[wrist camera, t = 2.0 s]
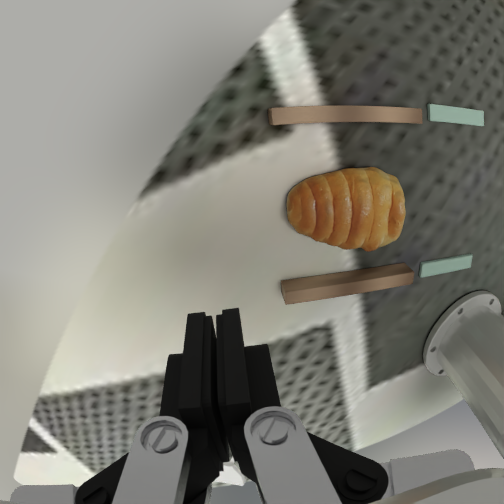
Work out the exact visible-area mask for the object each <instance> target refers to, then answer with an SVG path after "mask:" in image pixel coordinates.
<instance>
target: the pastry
mask: <svg viewBox="0 0 504 504" xmlns="http://www.w3.org/2000/svg"><path fill="white" fill-rule="evenodd" d="M404 203H405V198H404V193H403V190H402V188H401V186H400V184H399V181H398V179H397V178H396V177H395V176H393V175H390V174H387V173H385V172H383V171H382V170H380V169H378V168H375V167H367V168H347V169H342V170H338V171H334V172H330V173H325V174H321V175H317V176H313V177H310V178H307V179H305V180H303V181H302V182H300V183H299V184H297V185H295V186H294V187H293V188H292V189H291V191H290V192H289V193H288V196H287V202H286V206H287V217H288V221H289V222H290V224H291V225H292V226H293V227H294V228H295V230H296V231H297V232H298V233H300V234H303V235H306V236H309V237H311V238H312V239H314V240H315V241H319V242H324V243H327V244H329V245H332V246H338V247H340V248H342V249H355V248H362V249H364V250H365V251H373V250H375V249H377V248H378V247H382V246H385V245H387V244H389V243H391V242H392V241H395V240H397V238H398V237H399V236H400V233H401V230H402V228H403V224H404V218H405V214H406V213H405V206H404Z"/></svg>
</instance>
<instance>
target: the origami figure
mask: <svg viewBox="0 0 504 504" xmlns="http://www.w3.org/2000/svg"><path fill="white" fill-rule="evenodd" d="M234 462H235V461H234V458H233V457H232V458H231V460H230V462H223V468H224V471H220V476H219V477H218V478H216V479H215V480H214V481H217V482H223V483H229V484H235V485H241V486H243V485H244V484H245V482H246V480H247V477H246V476H244V475H243V474H241V470H240V469H239V468H238V467H236V466H235V465H234Z"/></svg>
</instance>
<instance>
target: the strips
mask: <svg viewBox="0 0 504 504" xmlns="http://www.w3.org/2000/svg"><path fill="white" fill-rule="evenodd" d="M427 109H428V121H439V122H450V123H460V124H469V125H477V126H484V113H483V111H479V110H472V109H466V108H459V107H452V106H444V105H435V104H427ZM472 256H473V255H472V254H471V253H470V254H465V255H459V256H454V257H448V258H443V259H437V260H431V261H425V262H421V263H420V271H419V277H420V278H422V277H427V276H432V275H437V274H442V273H447V272H452V271H457V270H461V269H466V268H470V267H471V261H472Z"/></svg>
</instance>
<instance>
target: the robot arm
mask: <svg viewBox="0 0 504 504" xmlns="http://www.w3.org/2000/svg"><path fill="white" fill-rule="evenodd" d="M216 336H217V339H216ZM423 360H424V363H425V366H426V367H427V369H428V370H429V371H430V372H431V373H432V374H434V375H436V376H447V375H448V377H449V378H450V380H451V381H452V382H453V384H454V385H455V387H456V388H457V389H458V391H459V392H460V394H461V395H462V397H463V398H464V399H465V401H466V402H467V404H468V405H469V407H470V408H471V410H472V411H473V413H474V414H475V416H476V417H477V419H478V420H479V422H480V423H481V425H482V426H483V428H484V429H485V431H486V433H487V434H488V436H489V437H490V439H491V440H492V442H493V443H494V445H495V447H496V448H497V450H498V451H499V453H500V454H501V456H502V457H503V459H504V316H503V315H501V304H500V302H499V300H498V299H497V297H496V296H494V295H493V294H492V293H490V292H488V291H476V292H472V293H470V294H468V295H466V296H464V297H462V298H461V299H459V300H458V301H457V302H455V303H454V304H453V305H452V306H451V307H450V308H448V310H447V311H446V312H445V313H444V314H443V315H442V316H441V317H440V319H439V320H438V321H437V322H436V324H435V325H434V327H433V329H432V330H431V332H430V334H429V336H428V338H427V340H426V343H425V347H424V352H423ZM228 442H229V445H230V449H231V452H232V455H233V458H234V461H238V463H239V467H240V470H241V474H243V475H244V476H246V477H247V478H249V479H251V480H252V481H254V482H255V483H256V486H257V489H258V492H259V496H260V498H261V502H262V504H504V469H502V468H488V469H478V470H475V469H474V465H473V462H472V460H471V458H470V456H469V455H468V454H466V453H465V452H464V451H460V450H457V449H456V450H446V451H441V452H436V453H431V454H425V455H419V456H413V457H407V458H399V459H391V460H390V462H388V463H377V462H375V461H373V460H371V459H368V458H366V457H363V456H361V455H359V454H356V453H354V452H351V451H349V450H347V449H344V448H342V447H340V446H337V445H335V444H333V443H331V442H328V441H326V440H324V439H322V438H320V437H317V436H315V435H313V434H311V433H309V432H307V431H306V430H305V428H304V426H303V423H302V421H301V419H300V418H299V417H298V415H297V414H296V413H294V412H293V411H291V410H290V409H287V408H284V407H281V404H280V400H279V395H278V390H277V386H276V381H275V376H274V372H273V367H272V362H271V358H270V353H269V348H268V345H267V344H262V345H255V346H247V347H244V341H243V334H242V327H241V320H240V313H239V308H234V309H226V310H222V314H221V315H216V334H215V329H214V324H213V319H212V316H206V314H205V312H200V313H191V314H188V316H187V324H186V332H185V341H184V350H183V353H181V354H170V355H169V357H168V361H167V367H166V374H165V380H164V387H163V394H162V401H161V409H160V416H158V417H155V418H151V419H149V420H148V421H146V422H144V423H143V424H142V425H141V426H140V427H139V429H138V430H137V432H136V434H135V437H134V440H133V443H132V446H131V449H130V451H129V452H128V453H127V454H126V455H124V456H123V457H121V458H120V459H119V460H117V461H116V462H114V463H113V464H111V465H110V466H108V467H107V468H106V469H104V470H103V471H101V472H100V473H98V474H97V475H95V476H94V477H92V478H91V479H89V480H88V481H86V482H85V483H83V484H82V485H81V486H80V487H75V486H74V485H73V484H72V485H24V486H20V487H18V488H17V489H15V490H14V492H13V493H12V495H11V499H10V502H9V501H1V500H0V504H210V499H211V492H212V482H213V481H214V480H215V479H216V478H218V477H219V476H220V471H224V468H223V462H229V446H228Z"/></svg>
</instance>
